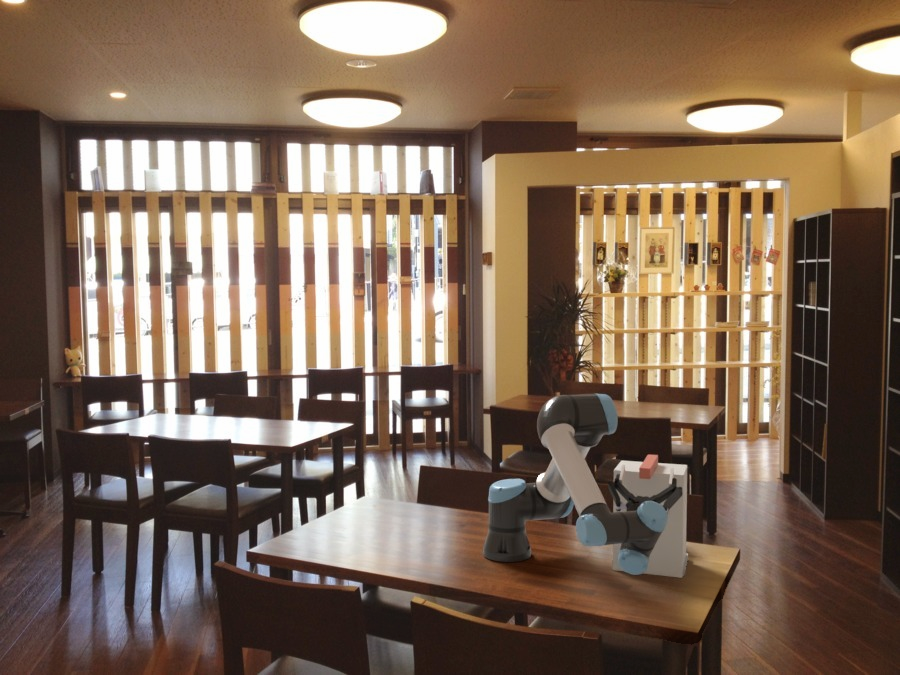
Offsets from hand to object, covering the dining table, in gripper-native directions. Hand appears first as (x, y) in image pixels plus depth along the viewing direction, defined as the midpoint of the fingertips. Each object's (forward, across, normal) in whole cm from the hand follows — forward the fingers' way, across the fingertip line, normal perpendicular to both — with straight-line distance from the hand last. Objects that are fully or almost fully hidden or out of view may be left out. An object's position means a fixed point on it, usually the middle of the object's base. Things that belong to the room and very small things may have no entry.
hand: (647, 469), depth 230 cm
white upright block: (-5, 0, -34) cm, 34 cm away
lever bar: (+5, 0, -5) cm, 7 cm away
